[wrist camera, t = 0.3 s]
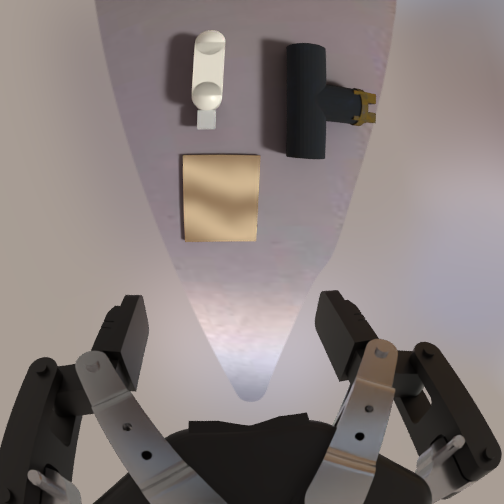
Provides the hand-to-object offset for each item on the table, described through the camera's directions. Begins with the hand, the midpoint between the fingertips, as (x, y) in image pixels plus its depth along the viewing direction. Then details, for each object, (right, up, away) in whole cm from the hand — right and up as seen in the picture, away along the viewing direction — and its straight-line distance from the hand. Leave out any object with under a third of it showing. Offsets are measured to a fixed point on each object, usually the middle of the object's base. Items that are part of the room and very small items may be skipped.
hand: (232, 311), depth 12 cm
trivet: (-3, +10, +25) cm, 27 cm away
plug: (-5, +24, +18) cm, 31 cm away
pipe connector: (+11, +23, +21) cm, 33 cm away
